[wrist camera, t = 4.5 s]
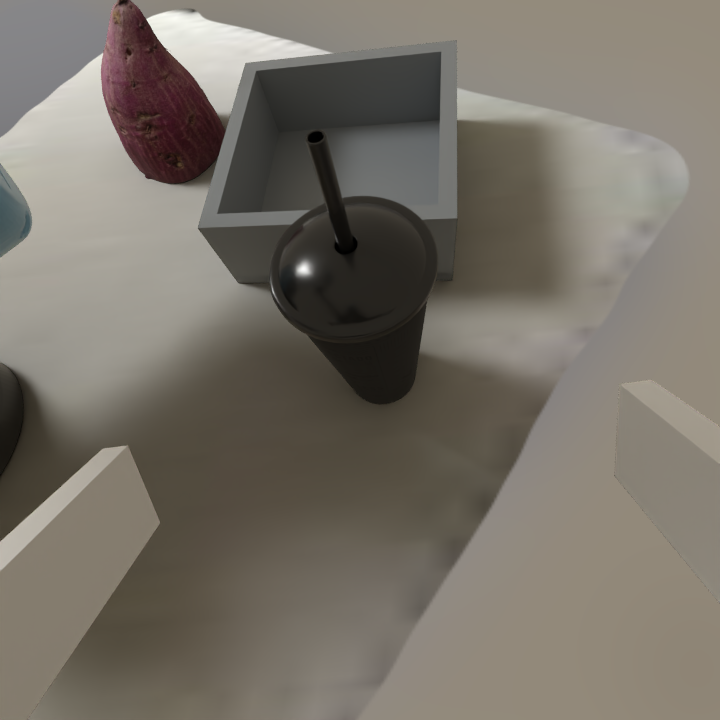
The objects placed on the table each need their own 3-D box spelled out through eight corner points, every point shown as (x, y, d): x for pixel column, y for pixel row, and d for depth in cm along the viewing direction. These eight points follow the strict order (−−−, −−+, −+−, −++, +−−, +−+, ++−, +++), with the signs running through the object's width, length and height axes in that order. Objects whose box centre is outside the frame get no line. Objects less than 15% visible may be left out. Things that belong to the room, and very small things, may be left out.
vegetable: (243, 140, 49) (221, -27, 36) (214, 201, 44) (177, 32, 31) (151, 121, 48) (96, -54, 35) (111, 180, 43) (29, 1, 30)
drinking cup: (338, 433, 30) (196, 263, 12) (325, 338, 33) (198, 88, 15) (446, 412, 29) (471, 200, 11) (422, 318, 33) (412, 33, 14)
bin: (238, 282, 37) (197, 227, 30) (272, 133, 43) (245, 63, 37) (452, 280, 33) (457, 218, 27) (452, 119, 40) (456, 40, 34)
